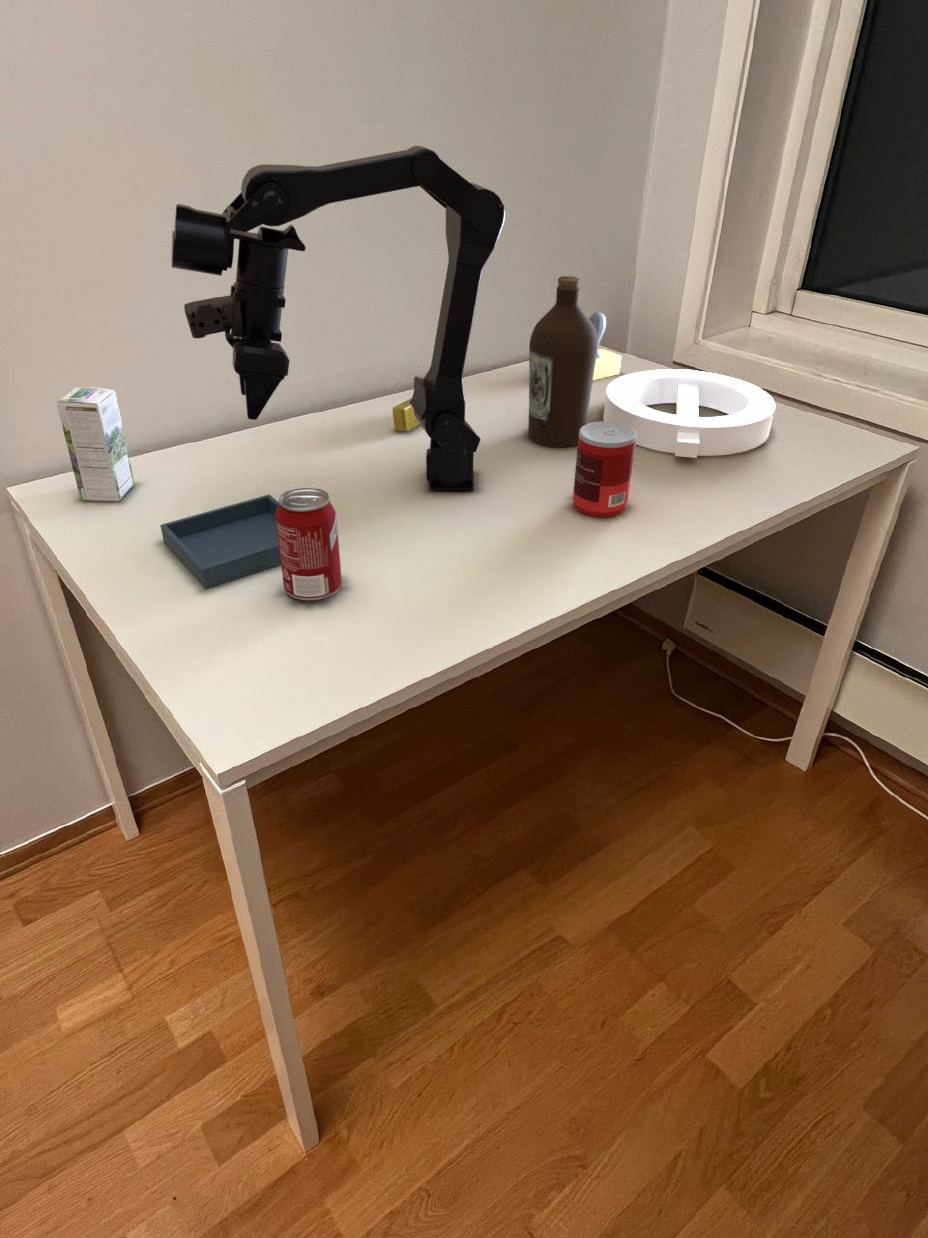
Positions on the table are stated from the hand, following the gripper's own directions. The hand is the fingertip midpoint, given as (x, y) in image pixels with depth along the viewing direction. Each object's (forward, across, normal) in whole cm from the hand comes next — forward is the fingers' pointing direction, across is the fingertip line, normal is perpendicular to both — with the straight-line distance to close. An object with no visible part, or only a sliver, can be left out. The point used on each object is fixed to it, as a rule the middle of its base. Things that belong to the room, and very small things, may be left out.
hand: (248, 406), depth 109 cm
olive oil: (+4, -12, +51) cm, 53 cm away
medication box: (+8, -25, +32) cm, 41 cm away
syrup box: (+19, -10, -17) cm, 27 cm away
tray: (+15, +11, -1) cm, 19 cm away
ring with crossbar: (-2, -12, +75) cm, 76 cm away
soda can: (+13, +24, +6) cm, 28 cm away
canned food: (+4, +13, +48) cm, 50 cm away
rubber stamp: (-1, -40, +70) cm, 80 cm away
